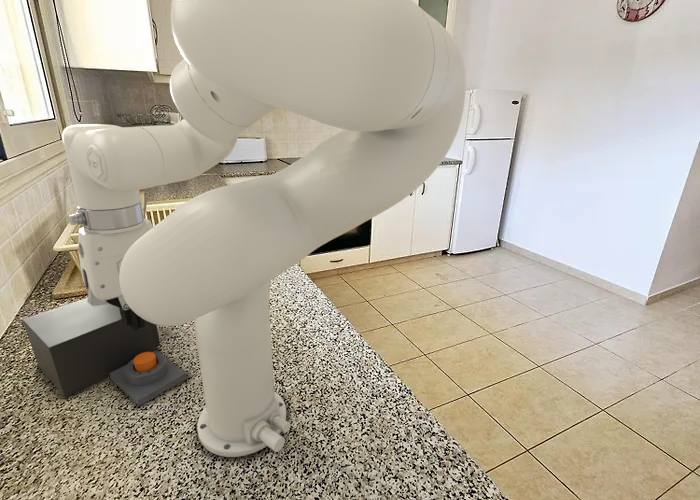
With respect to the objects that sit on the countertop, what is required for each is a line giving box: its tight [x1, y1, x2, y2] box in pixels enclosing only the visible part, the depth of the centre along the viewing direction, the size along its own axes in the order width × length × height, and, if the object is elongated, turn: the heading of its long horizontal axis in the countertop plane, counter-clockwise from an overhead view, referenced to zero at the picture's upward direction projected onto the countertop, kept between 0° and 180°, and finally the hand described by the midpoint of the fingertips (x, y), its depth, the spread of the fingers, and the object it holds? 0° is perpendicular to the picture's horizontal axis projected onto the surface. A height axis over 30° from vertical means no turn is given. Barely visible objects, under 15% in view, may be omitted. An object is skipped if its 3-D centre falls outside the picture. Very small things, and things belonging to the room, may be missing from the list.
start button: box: [134, 352, 157, 372], centre depth 62 cm, size 3×3×2 cm
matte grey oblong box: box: [21, 297, 157, 399], centre depth 66 cm, size 15×13×10 cm
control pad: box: [109, 350, 188, 406], centre depth 63 cm, size 10×8×3 cm
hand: (135, 325), depth 60 cm, fingers closed
